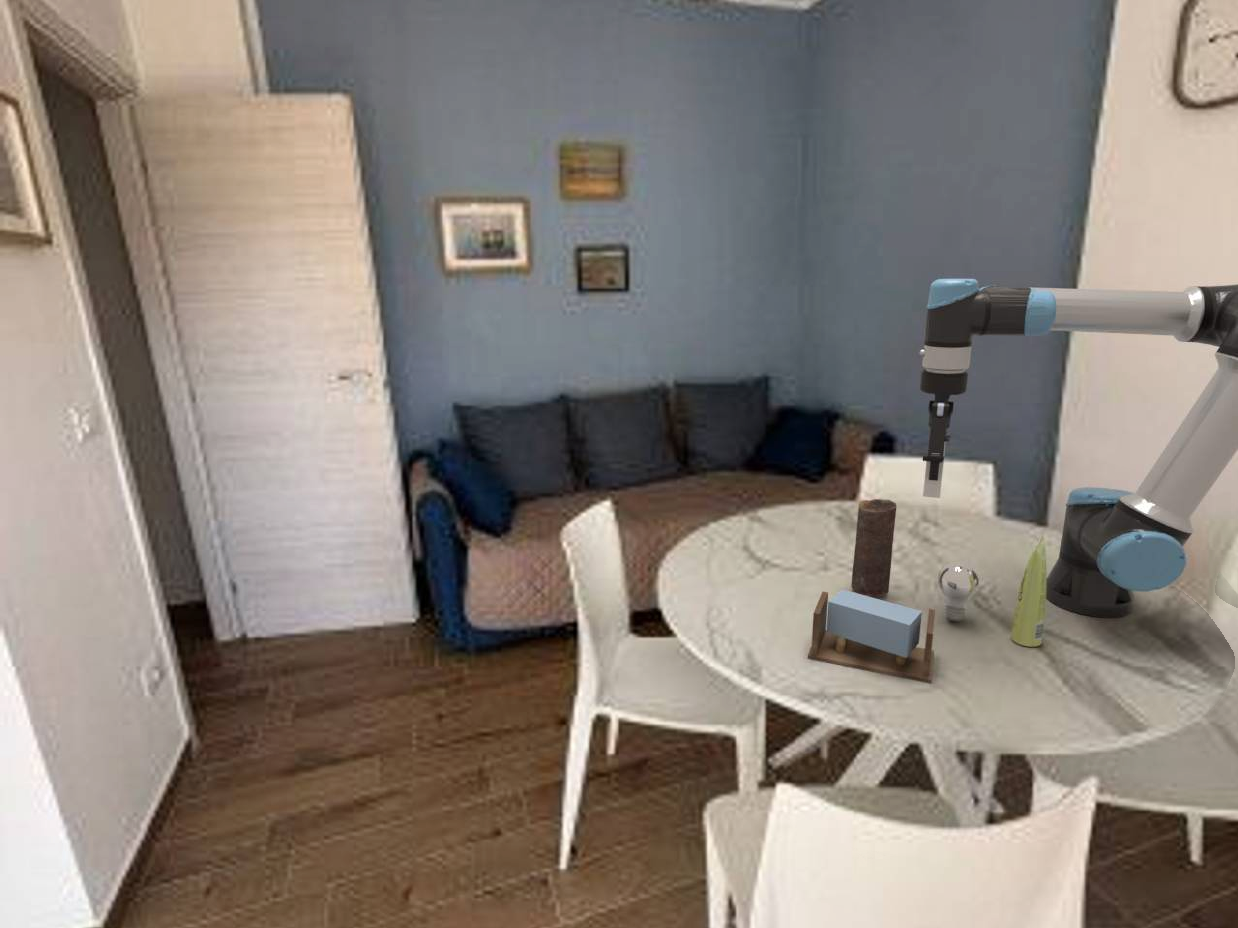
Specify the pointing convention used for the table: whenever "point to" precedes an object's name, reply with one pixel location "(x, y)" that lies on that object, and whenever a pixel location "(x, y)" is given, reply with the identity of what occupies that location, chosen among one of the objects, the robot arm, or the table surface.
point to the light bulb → (957, 587)
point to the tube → (1031, 600)
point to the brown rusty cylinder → (873, 547)
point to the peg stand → (869, 650)
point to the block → (874, 622)
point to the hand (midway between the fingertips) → (933, 485)
